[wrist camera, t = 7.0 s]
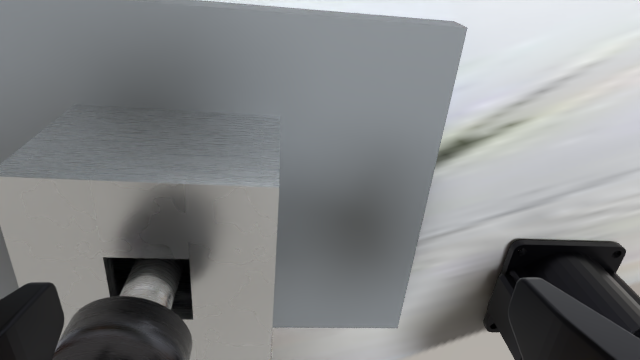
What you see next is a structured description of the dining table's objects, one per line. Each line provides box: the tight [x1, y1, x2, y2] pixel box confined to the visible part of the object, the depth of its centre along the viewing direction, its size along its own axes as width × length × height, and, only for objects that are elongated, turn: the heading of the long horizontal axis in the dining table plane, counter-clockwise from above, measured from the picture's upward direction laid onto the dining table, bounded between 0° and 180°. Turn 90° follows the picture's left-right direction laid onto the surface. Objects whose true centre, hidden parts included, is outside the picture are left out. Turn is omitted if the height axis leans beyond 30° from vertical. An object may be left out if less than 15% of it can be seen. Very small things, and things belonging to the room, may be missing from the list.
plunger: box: [52, 258, 192, 360], centre depth 15 cm, size 6×6×9 cm
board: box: [0, 0, 467, 328], centre depth 20 cm, size 22×16×2 cm
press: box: [0, 104, 280, 360], centre depth 17 cm, size 8×8×6 cm
